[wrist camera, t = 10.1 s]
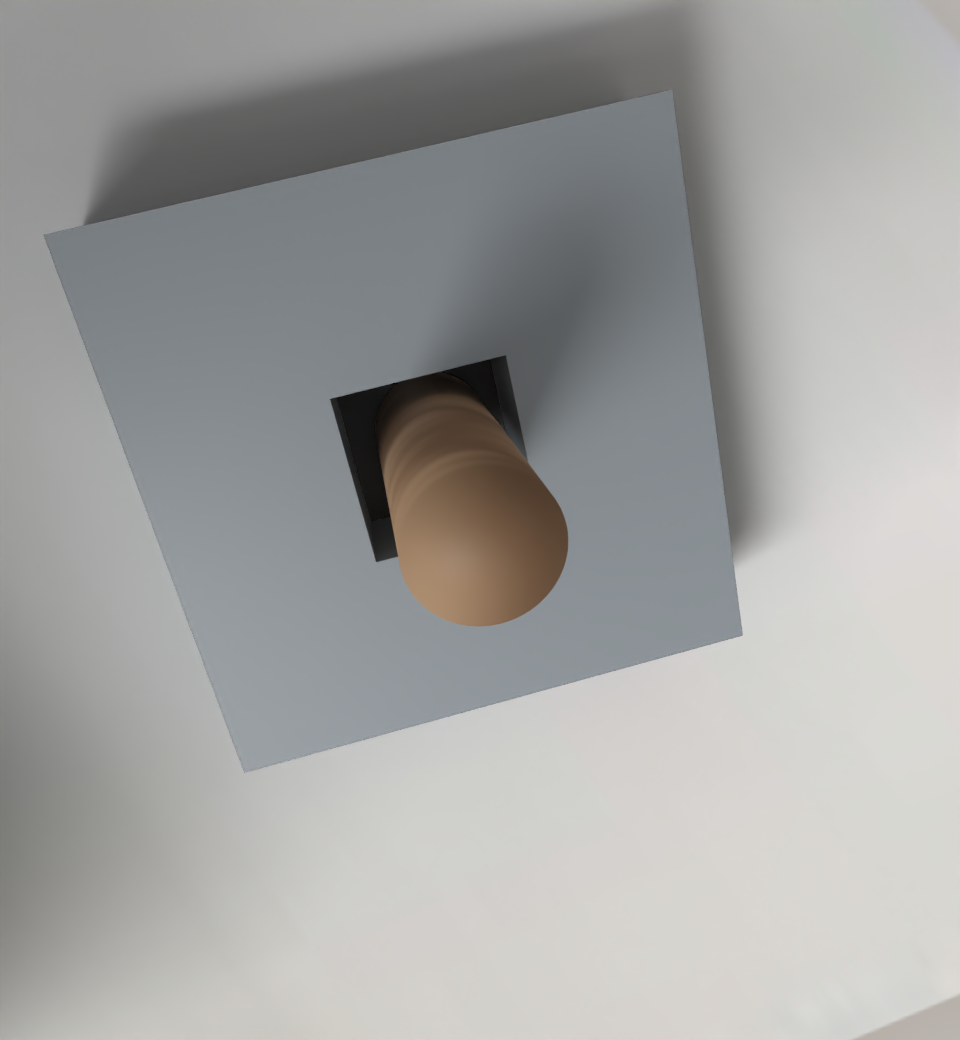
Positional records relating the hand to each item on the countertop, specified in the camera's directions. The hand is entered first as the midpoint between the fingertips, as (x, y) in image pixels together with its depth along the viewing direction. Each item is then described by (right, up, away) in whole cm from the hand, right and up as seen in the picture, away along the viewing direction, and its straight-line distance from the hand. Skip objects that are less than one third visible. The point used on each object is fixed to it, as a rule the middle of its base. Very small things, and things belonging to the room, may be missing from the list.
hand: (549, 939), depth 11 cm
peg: (-3, +8, +21) cm, 23 cm away
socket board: (-3, +8, +21) cm, 23 cm away
